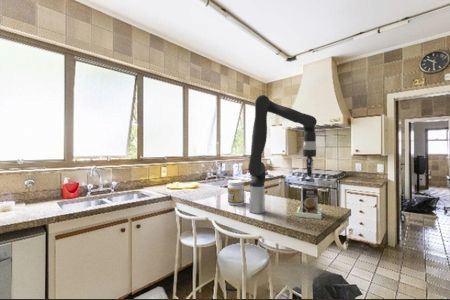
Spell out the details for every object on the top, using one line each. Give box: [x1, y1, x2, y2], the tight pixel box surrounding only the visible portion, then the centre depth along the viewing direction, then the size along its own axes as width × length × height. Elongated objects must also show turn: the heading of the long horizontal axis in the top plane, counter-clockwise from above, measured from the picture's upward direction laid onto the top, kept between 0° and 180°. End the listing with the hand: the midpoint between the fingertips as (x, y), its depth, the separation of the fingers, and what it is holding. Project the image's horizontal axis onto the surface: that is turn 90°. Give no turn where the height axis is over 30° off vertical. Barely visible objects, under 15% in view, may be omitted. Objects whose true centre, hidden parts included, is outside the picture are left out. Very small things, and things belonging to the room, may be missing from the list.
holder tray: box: [296, 206, 323, 220], centre depth 148 cm, size 14×14×3 cm
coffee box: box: [300, 186, 319, 214], centre depth 148 cm, size 9×6×16 cm
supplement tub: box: [227, 179, 245, 206], centre depth 176 cm, size 12×12×17 cm
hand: (309, 174), depth 147 cm, fingers open, 8 cm apart
